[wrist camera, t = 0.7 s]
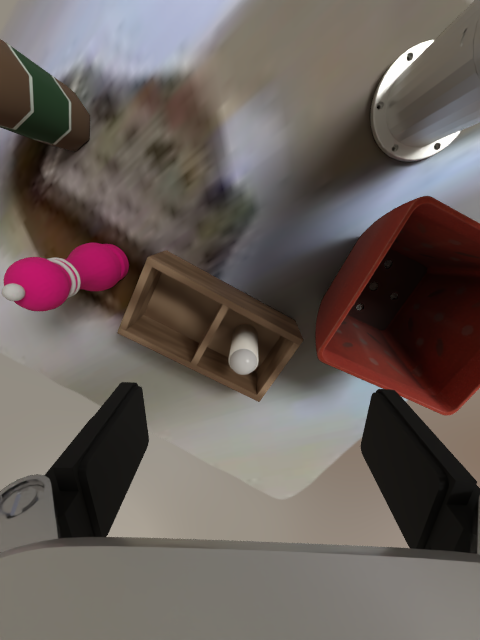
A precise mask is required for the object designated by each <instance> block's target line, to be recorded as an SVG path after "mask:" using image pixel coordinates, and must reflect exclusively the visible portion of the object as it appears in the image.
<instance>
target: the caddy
mask: <svg viewBox="0 0 480 640" xmlns="http://www.w3.org/2000/svg"><path fill="white" fill-rule="evenodd" d="M242 324H249V325H251V326H253V327H254V328H255V329H256V331H257V334H258V360H259V362H258V366H257V368H256V369H255V370H254V371H253V372H251V373H250V374H247V375H240V374H237V373H236V372H235V371H233V369H232V368H231V367H230V365H229V354H230V348H231V342H232V337H233V332H234V330H235V328H236V327H237V326H239V325H242ZM117 333H118V334H120V335H122V336H124V337H127V338H129V339H131V340H133V341H135V342H137V343H139V344H141V345H143V346H145V347H147V348H149V349H151V350H153V351H155V352H157V353H159V354H161V355H164V356H166V357H168V358H170V359H172V360H174V361H176V362H178V363H180V364H182V365H184V366H186V367H188V368H190V369H192V370H194V371H196V372H199V373H201V374H203V375H205V376H207V377H209V378H211V379H213V380H215V381H217V382H219V383H221V384H223V385H225V386H227V387H229V388H231V389H234V390H236V391H238V392H240V393H242V394H244V395H246V396H248V397H250V398H252V399H254V400H256V401H258V402H260V400H261V399H262V397H263V396H264V395H265V393H266V392H267V390H268V389H269V388H270V386H271V385H272V383H273V382H274V381H275V379H276V378H277V376H278V375H279V374H280V372H281V371H282V370H283V368H284V367H285V365H286V364H287V363H288V361H289V360H290V358H291V357H292V356H293V354H294V353H295V351H296V350H297V349H298V347H299V346H300V344H301V343H302V342H303V338H302V336H301V333H300V331H299V328H298V326H297V324H296V321H295V320H293V319H291V318H289V317H287V316H286V315H284V314H282V313H280V312H278V311H276V310H275V309H273V308H271V307H269V306H267V305H265V304H264V303H262V302H260V301H258V300H256V299H254V298H253V297H251V296H249V295H247V294H245V293H243V292H242V291H240V290H238V289H236V288H234V287H232V286H231V285H229V284H227V283H225V282H223V281H221V280H220V279H218V278H216V277H214V276H212V275H210V274H209V273H207V272H205V271H203V270H201V269H199V268H198V267H196V266H194V265H192V264H190V263H188V262H187V261H185V260H183V259H181V258H179V257H177V256H176V255H174V254H172V253H170V252H168V251H163V252H160V253H157V254H155V255H152V256H149V257H148V258H147V260H146V263H145V265H144V268H143V270H142V273H141V275H140V278H139V280H138V283H137V285H136V287H135V290H134V292H133V295H132V297H131V300H130V302H129V305H128V307H127V310H126V312H125V315H124V317H123V320H122V322H121V325H120V327H119V330H118V332H117Z"/></svg>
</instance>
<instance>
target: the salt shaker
mask: <svg viewBox="0 0 480 640" xmlns="http://www.w3.org/2000/svg"><path fill="white" fill-rule="evenodd" d="M258 362H259V360H258V334H257V331H256V329H255V328H254V327H253V326H251V325H249V324H242V325H239V326H237V327H236V328H235V330H234V332H233V337H232V342H231V348H230V354H229V365H230V367H231V368H232V369H233V371H235V372H236V373H237V374H240V375H247V374H250V373H251V372H253V371H254V370H255V369H256V368H257V366H258Z"/></svg>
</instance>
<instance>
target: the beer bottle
mask: <svg viewBox="0 0 480 640" xmlns="http://www.w3.org/2000/svg"><path fill="white" fill-rule="evenodd" d="M0 127H1V128H4V129H6V130H9V131H12V132H15V133H17V134H20V135H23V136H26V137H28V138H31V139H34V140H36V141H39V142H42V143H45V144H48V145H52V146H55V147H59V148H63V149H67V150H71V151H74V152H75V151H76V150H77V149H79V148H80V147H81V146H82V145H83V144H84V143H85V142H87V141H88V140H89V139H90V115H89V113H88V112H87V110H86V109H85V107H84V106H83V104H82V103H81V101H80V100H79V98H78V97H77V95H76V94H75V93H74V92H73V91H72V90H71V89H69V88H68V87H67V86H66V85H64V84H63V83H62V82H60V81H59V80H57V79H56V78H55V77H53V76H52V75H50V74H49V73H48V72H46V71H45V70H43V69H42V68H41V67H39V66H38V65H36V64H35V63H34V62H32V61H31V60H29V59H28V58H27V57H25V56H24V55H22V54H21V53H20V52H18V51H17V50H15V49H14V48H13V47H11V46H10V45H8V44H7V43H5V42H4V41H2V40H0Z"/></svg>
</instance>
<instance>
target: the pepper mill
mask: <svg viewBox="0 0 480 640" xmlns="http://www.w3.org/2000/svg"><path fill="white" fill-rule="evenodd" d="M128 269H129V263H128V259H127V257H126V255H125V254H124V252H123V251H122V250H121V249H120V248H118V247H117V246H114V245H112V244H99V243H86V244H83V245H80V246H78V247H77V248H76V249H74V250H73V251H72V252H71V253H70V255H69V256H68V258H67V259H65V260H64V259H61V258H50V259H44V258H40V257H29V258H24V259H21V260H19V261H16V262H15V263H13V264H12V265H11V266H10V267H9V268H8V269H7V271H6V273H5V275H4V287H3V289H2V294H3V296H4V297H5V298H6V299H7V300H10V301H14V302H15V303H16V304H18V305H19V306H21V307H23V308H26V309H28V310H32V311H48V310H51V309H55V308H57V307H59V306H60V305H62V304H63V303H64V302H65V301H66V299H67V298H69V297H72V296H74V295H75V294H76V293H77V292H78V291H79V289H84V290H88V291H103V290H106V289H109V288H111V287H113V286H114V285H115V284H116V283H117V282H118V281H119V280H121V279H123V278H124V277H125V276H126V274H127V273H128Z"/></svg>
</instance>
